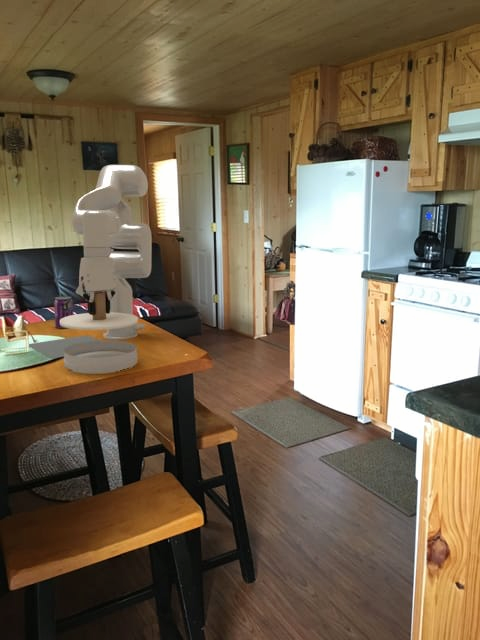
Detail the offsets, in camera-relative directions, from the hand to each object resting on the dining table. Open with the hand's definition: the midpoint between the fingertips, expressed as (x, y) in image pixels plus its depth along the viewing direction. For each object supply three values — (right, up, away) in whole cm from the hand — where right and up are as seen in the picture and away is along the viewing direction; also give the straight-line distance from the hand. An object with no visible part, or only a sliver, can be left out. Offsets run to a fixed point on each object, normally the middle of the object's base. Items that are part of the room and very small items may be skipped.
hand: (99, 313), depth 165 cm
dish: (0, -16, +3) cm, 16 cm away
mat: (-15, -12, +22) cm, 29 cm away
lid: (0, -3, +1) cm, 3 cm away
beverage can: (-28, -5, +54) cm, 61 cm away
